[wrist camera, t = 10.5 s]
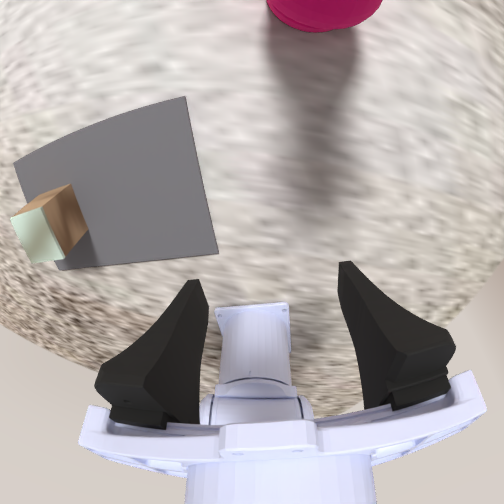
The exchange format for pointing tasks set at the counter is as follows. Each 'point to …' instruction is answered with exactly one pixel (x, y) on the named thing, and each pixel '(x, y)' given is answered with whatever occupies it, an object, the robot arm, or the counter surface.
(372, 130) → the counter surface
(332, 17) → the pepper mill
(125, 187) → the mat
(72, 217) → the cube
